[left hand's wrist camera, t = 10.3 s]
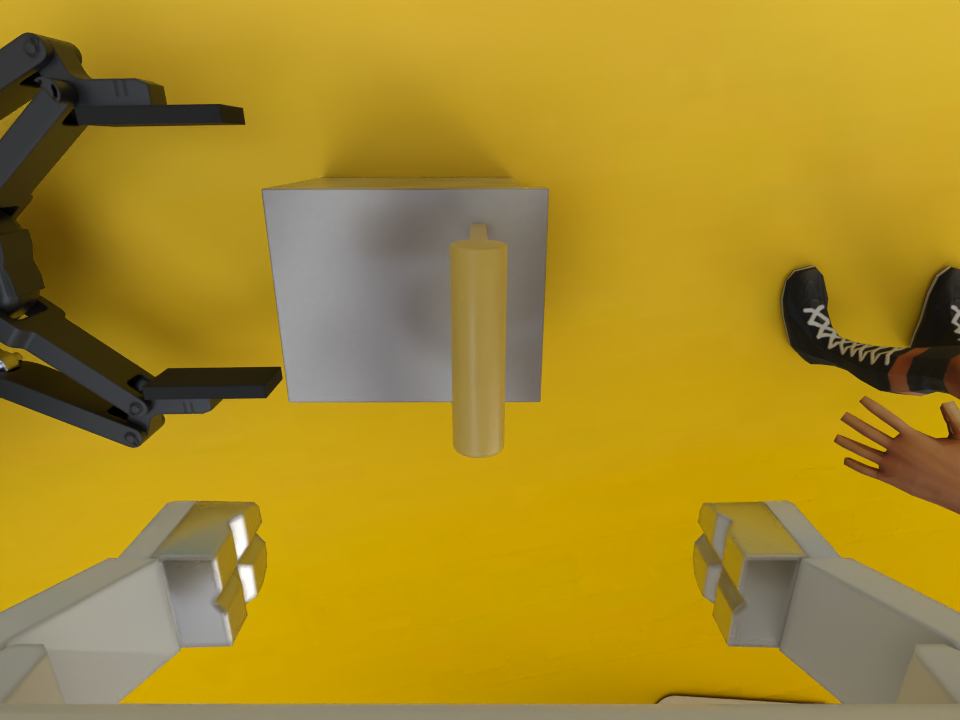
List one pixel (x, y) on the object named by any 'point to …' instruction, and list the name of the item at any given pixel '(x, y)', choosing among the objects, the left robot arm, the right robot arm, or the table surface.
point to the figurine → (891, 382)
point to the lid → (412, 298)
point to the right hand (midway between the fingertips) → (256, 259)
